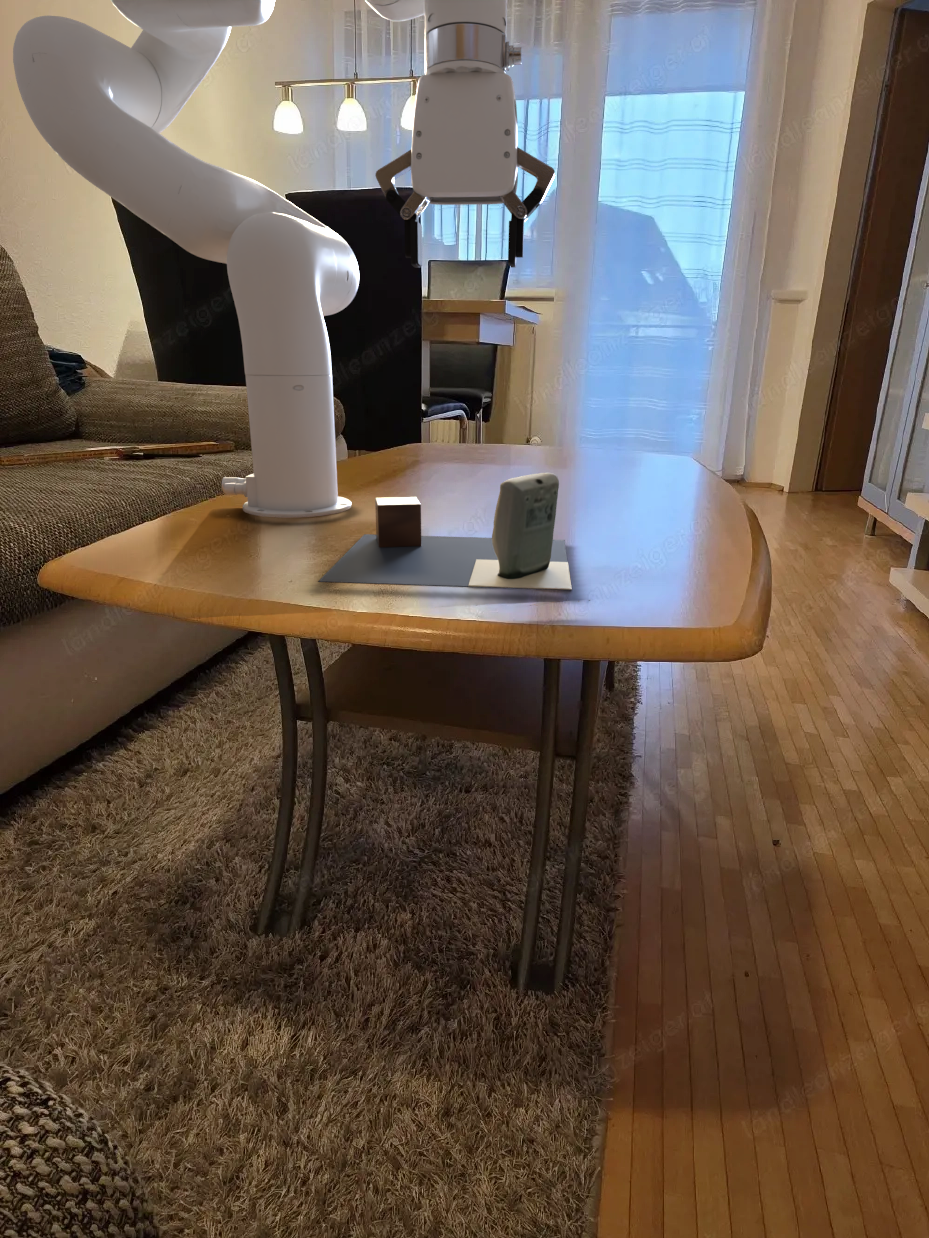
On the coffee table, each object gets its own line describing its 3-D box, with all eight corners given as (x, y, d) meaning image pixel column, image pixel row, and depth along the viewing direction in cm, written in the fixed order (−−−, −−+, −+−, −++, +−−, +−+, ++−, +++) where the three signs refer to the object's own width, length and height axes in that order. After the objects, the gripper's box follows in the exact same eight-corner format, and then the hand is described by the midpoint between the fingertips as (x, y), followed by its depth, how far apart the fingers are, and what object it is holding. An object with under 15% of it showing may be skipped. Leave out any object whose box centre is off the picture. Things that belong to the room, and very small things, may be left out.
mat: (318, 590, 60) (317, 580, 60) (364, 541, 76) (364, 533, 76) (571, 599, 58) (571, 588, 58) (564, 547, 74) (564, 538, 74)
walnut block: (378, 547, 71) (377, 505, 69) (376, 538, 74) (375, 497, 73) (421, 546, 71) (421, 504, 70) (416, 536, 75) (416, 496, 74)
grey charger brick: (550, 584, 59) (555, 481, 57) (484, 580, 60) (486, 479, 57) (556, 565, 64) (561, 471, 62) (496, 562, 65) (498, 468, 63)
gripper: (558, 75, 73) (550, 270, 78) (381, 80, 74) (386, 270, 80) (560, 45, 66) (551, 261, 71) (364, 50, 67) (371, 262, 73)
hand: (464, 266), depth 76 cm, fingers open, 9 cm apart
